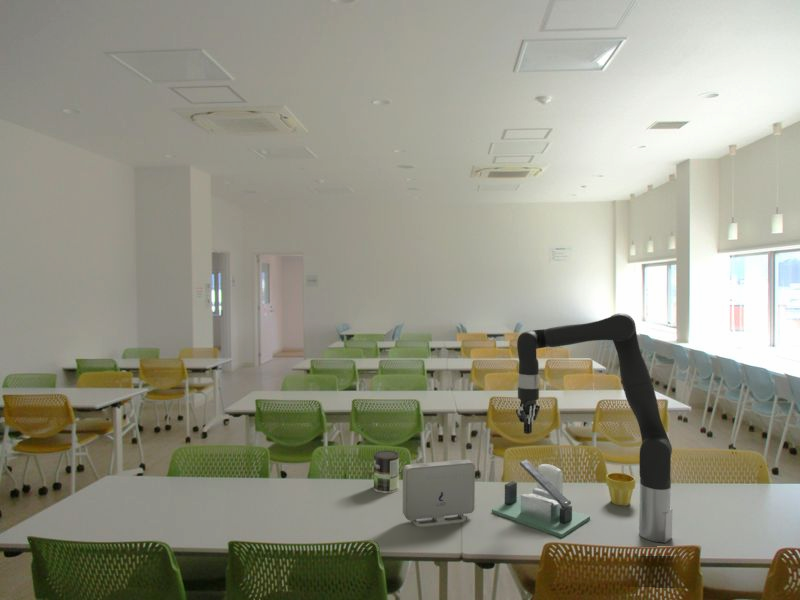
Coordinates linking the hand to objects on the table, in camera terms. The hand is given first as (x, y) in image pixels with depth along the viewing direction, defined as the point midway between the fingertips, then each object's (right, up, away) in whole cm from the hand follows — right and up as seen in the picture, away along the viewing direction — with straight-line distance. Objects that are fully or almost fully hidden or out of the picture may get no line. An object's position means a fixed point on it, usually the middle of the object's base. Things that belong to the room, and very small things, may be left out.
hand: (527, 433), depth 203 cm
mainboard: (+4, -29, -3) cm, 30 cm away
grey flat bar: (+5, -17, -4) cm, 18 cm away
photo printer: (+12, -29, +16) cm, 35 cm away
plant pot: (+38, -29, +10) cm, 49 cm away
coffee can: (-52, -28, +23) cm, 64 cm away
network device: (-33, -29, -6) cm, 44 cm away
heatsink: (+3, -28, -2) cm, 28 cm away
